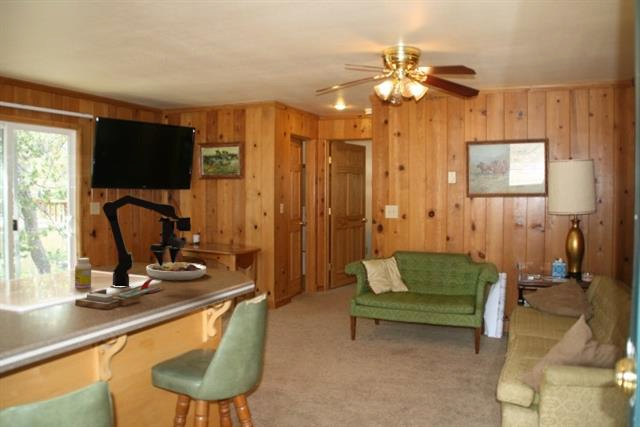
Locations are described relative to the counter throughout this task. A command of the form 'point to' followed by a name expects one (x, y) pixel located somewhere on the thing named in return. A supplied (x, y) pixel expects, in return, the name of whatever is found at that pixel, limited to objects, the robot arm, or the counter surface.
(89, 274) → the supplement bottle
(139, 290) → the toy spaceship
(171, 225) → the robot arm
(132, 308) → the counter surface
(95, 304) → the jig
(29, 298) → the counter surface
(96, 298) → the matte grey rectangular prism
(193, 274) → the bowl
